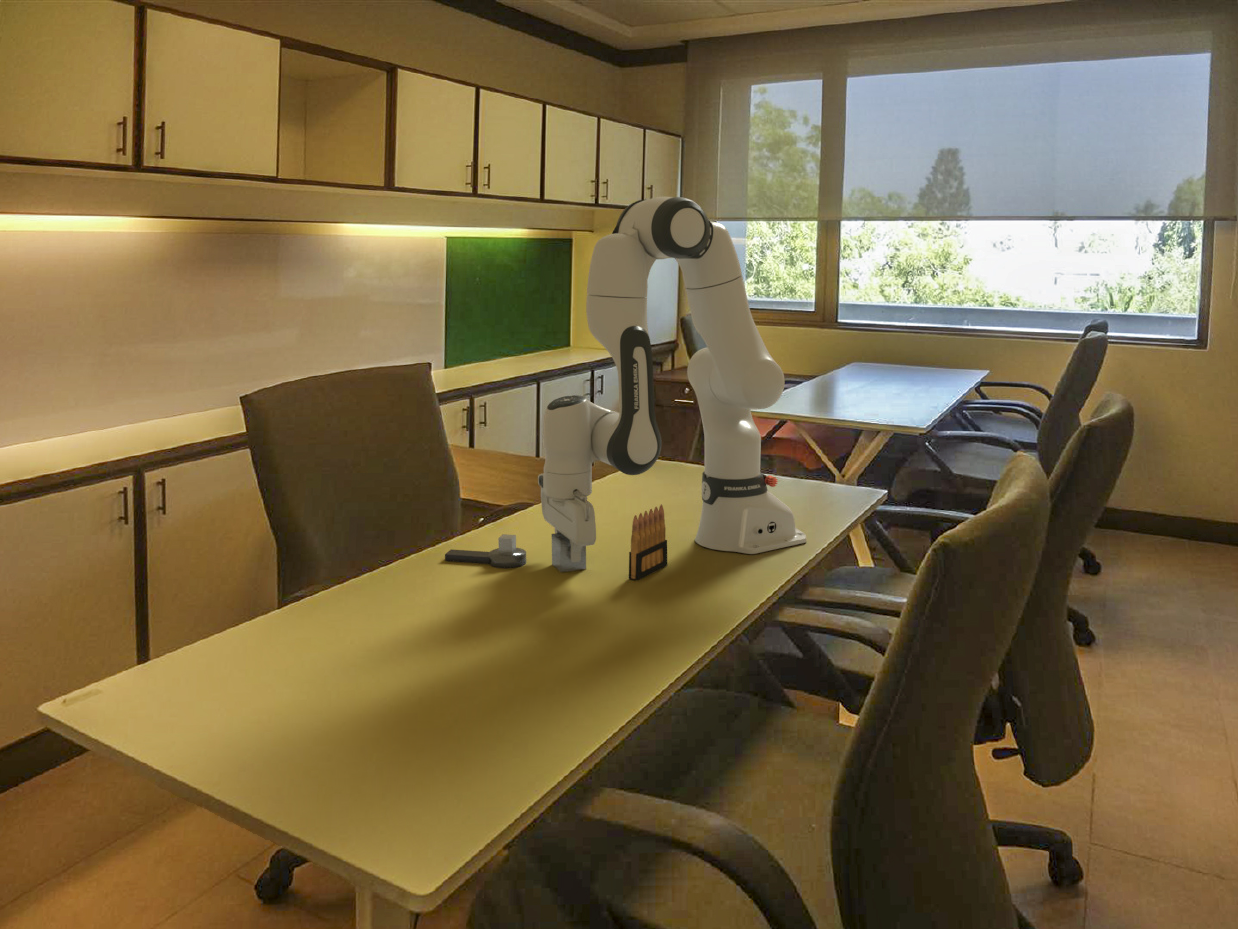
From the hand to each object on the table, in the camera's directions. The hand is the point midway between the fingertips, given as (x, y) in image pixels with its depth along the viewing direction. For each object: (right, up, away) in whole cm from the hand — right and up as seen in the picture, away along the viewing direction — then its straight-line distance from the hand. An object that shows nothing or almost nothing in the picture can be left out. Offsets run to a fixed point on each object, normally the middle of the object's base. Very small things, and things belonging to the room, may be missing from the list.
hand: (568, 556), depth 201 cm
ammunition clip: (+15, -3, -3) cm, 15 cm away
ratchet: (-16, -1, +4) cm, 16 cm away
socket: (0, -2, 0) cm, 2 cm away
